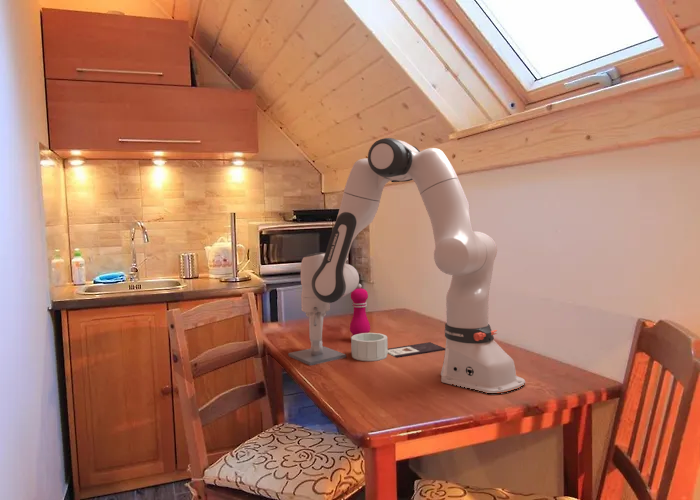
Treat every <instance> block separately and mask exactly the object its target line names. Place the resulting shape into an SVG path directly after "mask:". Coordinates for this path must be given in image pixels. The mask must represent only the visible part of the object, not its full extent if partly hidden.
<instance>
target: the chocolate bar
mask: <svg viewBox="0 0 700 500" xmlns="http://www.w3.org/2000/svg"><path fill="white" fill-rule="evenodd" d="M445 348H446V347H443V346H441V345H438V344H435V343H433V342H431V341H429V342H424V343H416V344H409V345H403V346H396V347H390V348H389V347H388V354H389V355H391V356H393V357H395V358H397V359H398V358H403V357H410V356H417V355H422V354H423V355H424V354H428V353H430V354H431V353H436V352H440V351H441V352H442V351H445ZM388 354H387V355H388Z"/></svg>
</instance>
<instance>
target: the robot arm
mask: <svg viewBox="0 0 700 500" xmlns="http://www.w3.org/2000/svg"><path fill="white" fill-rule="evenodd" d="M459 179H460V178H459V177H458V175H457V173H456V171H455V168H454V167H453V164H452V163H451V162H450V160H449V159H448V157H447V155H446V154H445V153H444V151H443V150H441V149H440V148H436V147H429V148H426V149H425V148H424V149H423V150H420V149H419V148H418V147H416V146H414V145H411V144H409V143H408V142H406V141H404V140H400V139H396V138H392V137H385V138H380V139H379V140H376V141H375V142H374V143H373V144H372V145H371V146H370V147H369V150H368V153H367V158H365V157H364V158H360V159H358V160H356V161H355V162H354V163H353V165H352V167H351V169H350V172H349V174H348V177H347V179H346V183H345V187H344V190H343V193H342V198H341V202H340V205H339V210H338V214H337V217H336V219H335V223H334V224H333V225H334V226H333V229H332V231H331V234H330V238H329V239H328V244H327V247H326V249H325V250H326V251H325V252H323V251H322V252H316V253H311V254H307V255H304V256H303V258H302V259H301V263H300V284H301V292H300V293H301V294H300V296H301V298H300V299H301V305H300V306H301V311H302V312H304V313H305V316H306V317H307V318H308V323H309V324H308V325H309V326H308V328H309V330H308V331H309V333H308V334H309V341H310V342H311V341H313V345H314V351H319V350H320V341H321V340H322V341H323V326H324V317H326V316H327V312H329V311H330V309H331V303H335V302H337V301H338V300H340V299H341V298H342V297H345V296H348V295H349V294H351V292H353V291H354V290H355V289H356V288H357V287H358V284H360V274H359V271H358V270H357V268H356V267H354V266H353V265H351V264H349V263H347V260H348V256H349V254H350V250H351V247H352V244H353V241H354V240H355V239H356V237H357V235H359V234H360V232H361V231H363V230H365V228H367V227H368V226H369V225H371V223H373V220H374V219H375V217H376V215H377V213H378V210H379V207H380V203H381V198H382V195H383V191H384V188H385V186H386V185H387V184H388V183H389V182H391V183H401V182H402V183H403V182H410V181H414V183H415V185H416V187H417V190H418V192H419V195H420V197H421V200H422V202H423V205H424V207H425V209H426V212H427V215H428V217H429V221H430V223H431V228H432V234H433V238H434V244H435V245H434V247H435V248H434V252H433V260H434V263H435V266H436V267H437V268H438V269H439V270H440V271H441V272H442V273H444V274H445V275H450V276H452V277H451V282H450V286H449V289H448V291H447V293H446V299H445V300H446V302H445V303H446V304H445V305H446V307H445V308H446V311H445V312H446V314H445V315H446V322H445V324H444V337H445V339H446V340H445V341H446V343H445V347H444V348H445V350H444V357H443V363H442V368H441V370H440V371H441V372H440V376H441V378H440V381H441V382H442V383H444V384H448V385H452V384H454V385H453V386H456V385H457V387H460V386H461V387H460V388H464V387H465V388H464V389H467V388H470V389H469V390H471V389H475V390H479V391H483V392H487V393H497V392H504V391H508V390H512V389H515V388H518V387H520V386H522V385H524V383H525V384H526V380H525V379H524V378H523V377H521V376H518V375H517V372H516V366H515V365H516V364H515V361H514V359H513V358H512V357H511V356H510V355H509V354H508V353H507V352H506V351H505V350H504V349H503V348H502V347H501V346H500V345H499V344H498V342H496V341H495V337H494V335H497V334H498V333H496V332H497V331H498V330H497V329H494V330H492V328H491V326H490V324H489V300H490V299H489V296H490V288H491V283H492V278H493V277H492V276H493V270H494V263H495V260H496V257H497V254H498V247H497V243H496V242H495V239H493V238H492V237H491V236H490V235H488V234H487V233H484V232H482V231H477V230H475V231H474V229H473V226H472V221H471V217H470V203H469V201H468V199H467V195H466V193H465V191H464V188H463V186H462V185H461V181H460V180H459ZM524 386H525V385H524ZM475 390H474V391H475ZM479 391H478V392H479ZM483 392H482V393H483ZM487 393H486V394H487Z"/></svg>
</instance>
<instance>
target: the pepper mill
mask: <svg viewBox="0 0 700 500" xmlns="http://www.w3.org/2000/svg"><path fill="white" fill-rule="evenodd" d="M362 287H363V286H362V284H361V283H359V284H358V287H357V288H356V289H355V290H354V291H353V292H351V293H350V299H351V300H352V307H353V313H352V314H353V315H352V319H351V320H350V324H349V332H350V333H351V334H352V335H351V336H350V338H351V337H352V336H353V335H356V334H361V333H371V332H370V331H371V325H370V324H371V323H370V322H369V319H368V317H367V312H366V308H367V306H368V305H367V300H368V299H369V292H368V291H367V290H366V289H365V288H362Z"/></svg>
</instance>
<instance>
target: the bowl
mask: <svg viewBox="0 0 700 500" xmlns="http://www.w3.org/2000/svg"><path fill="white" fill-rule="evenodd" d="M352 335H353V334H352ZM352 335H351V336H352ZM351 336H350V340H351V341H350V342H351V343H350V345H351V349H350V350H351V358H352V359H354V360H357V361H361V362H376V361H377V362H378V361H382V360H385V359H386V358H388V348H389V346H388V342H389V341H388V336H387V335H386V334H383V333H379V332H377V333H376V332H369V333H361V334H356V335H353V336H352V337H351Z"/></svg>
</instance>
